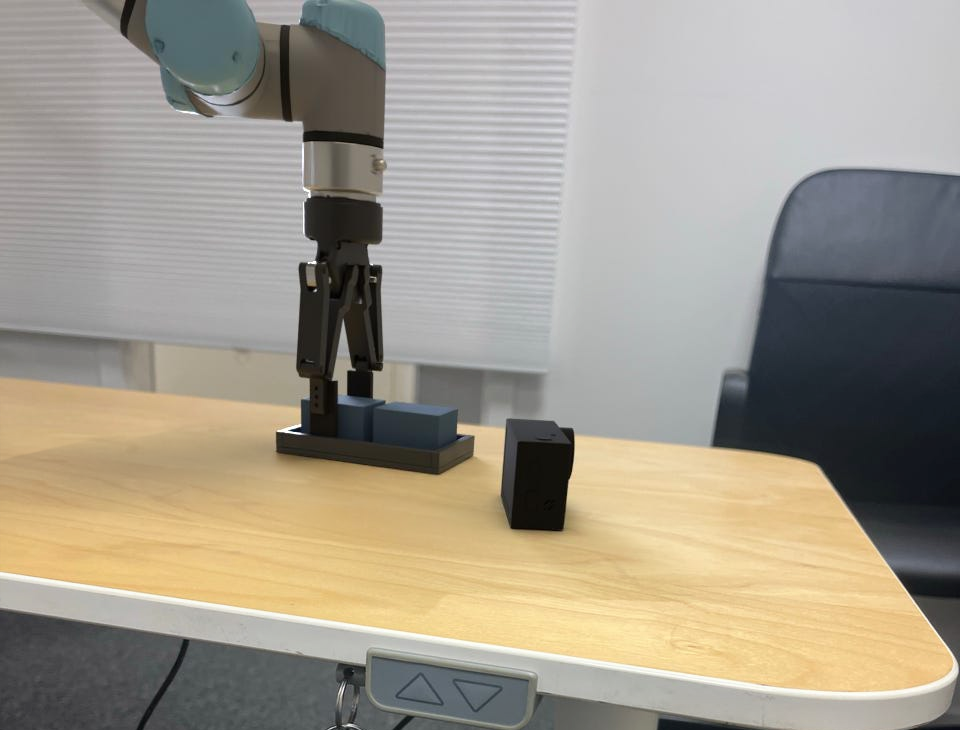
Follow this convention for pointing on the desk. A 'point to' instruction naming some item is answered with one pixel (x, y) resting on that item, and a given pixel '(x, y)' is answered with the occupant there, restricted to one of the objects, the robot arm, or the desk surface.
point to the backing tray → (375, 451)
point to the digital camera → (536, 473)
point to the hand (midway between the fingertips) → (342, 439)
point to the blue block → (414, 425)
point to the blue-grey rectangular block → (348, 417)
